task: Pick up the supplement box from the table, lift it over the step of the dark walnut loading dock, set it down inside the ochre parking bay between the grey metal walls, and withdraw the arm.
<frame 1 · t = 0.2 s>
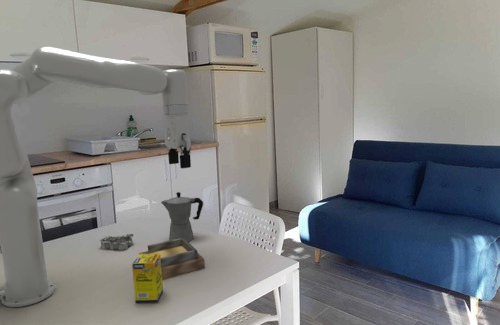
hand: (179, 165, 118), 31 cm above the table, tool pointing down, fingers open, 9 cm apart
supplement box: (149, 297, 99), on the table
coffeepot: (184, 239, 140), on the table
loading dock: (171, 264, 118), on the table
egg carton: (117, 247, 135), on the table
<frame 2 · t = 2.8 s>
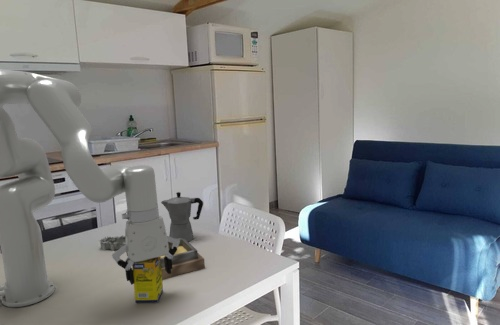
hand: (150, 277, 98), 6 cm above the table, tool pointing down, fingers open, 9 cm apart
nothing on the table moved.
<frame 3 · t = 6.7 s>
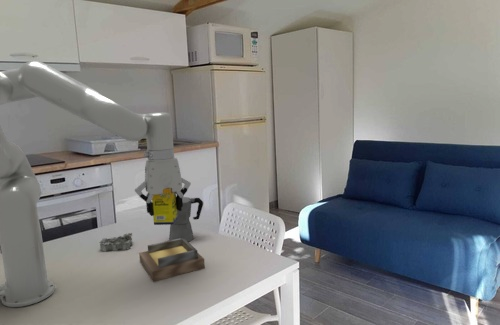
hand: (165, 212, 113), 18 cm above the table, tool pointing down, fingers closed on supplement box, 8 cm apart
supplement box: (166, 222, 113), point 15 cm above the table, touching gripper
when the fingers open (7 cm above the table, at t = 9.9 s): supplement box stays where it is, resting on loading dock.
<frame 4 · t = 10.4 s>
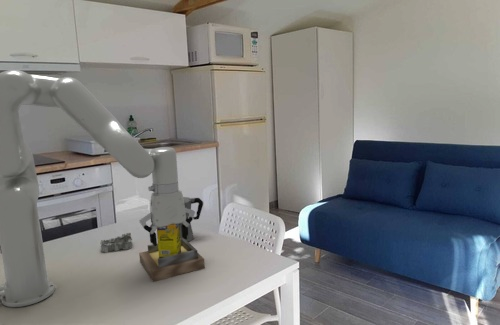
hand: (169, 241, 117), 8 cm above the table, tool pointing down, fingers open, 9 cm apart
supplement box: (170, 255, 117), point 3 cm above the table, touching loading dock
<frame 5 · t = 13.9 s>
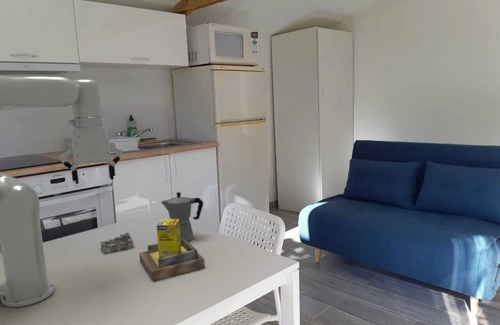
hand: (94, 180, 111), 28 cm above the table, tool pointing down, fingers open, 9 cm apart
at the end: supplement box inside the target area on the loading dock (0.1 cm from its centre), point 3.0 cm above the loading dock's base; supplement box tilted 0°; the gripper is holding nothing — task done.
